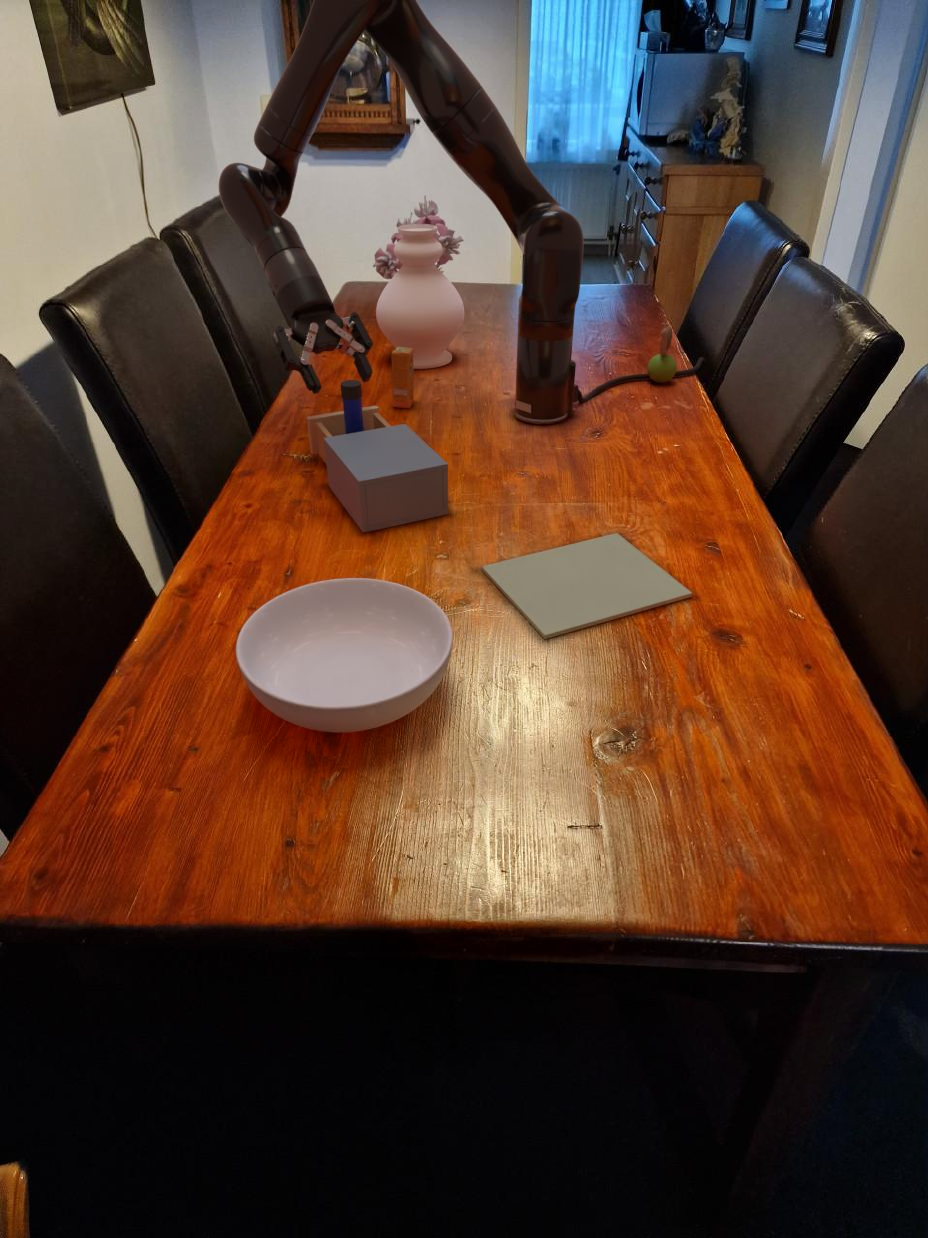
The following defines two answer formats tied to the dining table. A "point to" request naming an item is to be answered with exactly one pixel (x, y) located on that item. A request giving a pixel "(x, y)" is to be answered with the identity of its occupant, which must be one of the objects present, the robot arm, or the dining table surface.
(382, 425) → the drawer
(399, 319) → the decorative vase
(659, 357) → the green ball with stem
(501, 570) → the mat
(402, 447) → the cabinet
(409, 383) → the supplement box
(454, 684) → the dining table surface
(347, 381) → the flashlight
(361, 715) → the serving bowl
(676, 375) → the robot arm
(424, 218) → the flower
